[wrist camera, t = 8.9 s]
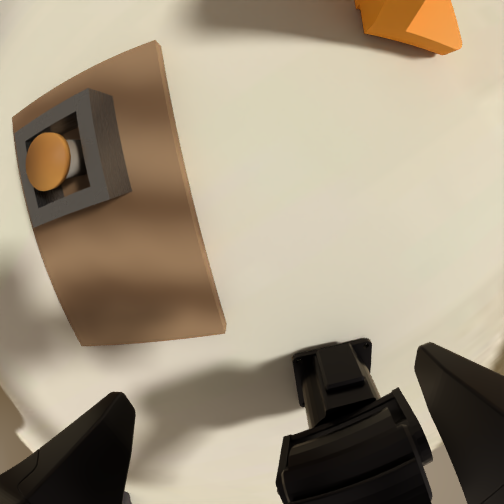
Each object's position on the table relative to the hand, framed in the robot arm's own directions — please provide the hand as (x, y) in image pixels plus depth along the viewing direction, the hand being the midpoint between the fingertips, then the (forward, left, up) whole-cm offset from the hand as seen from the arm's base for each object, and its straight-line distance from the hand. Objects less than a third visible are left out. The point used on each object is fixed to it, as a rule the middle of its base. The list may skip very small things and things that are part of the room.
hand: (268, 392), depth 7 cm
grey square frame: (+9, +10, -11) cm, 17 cm away
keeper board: (+5, +10, -12) cm, 16 cm away
